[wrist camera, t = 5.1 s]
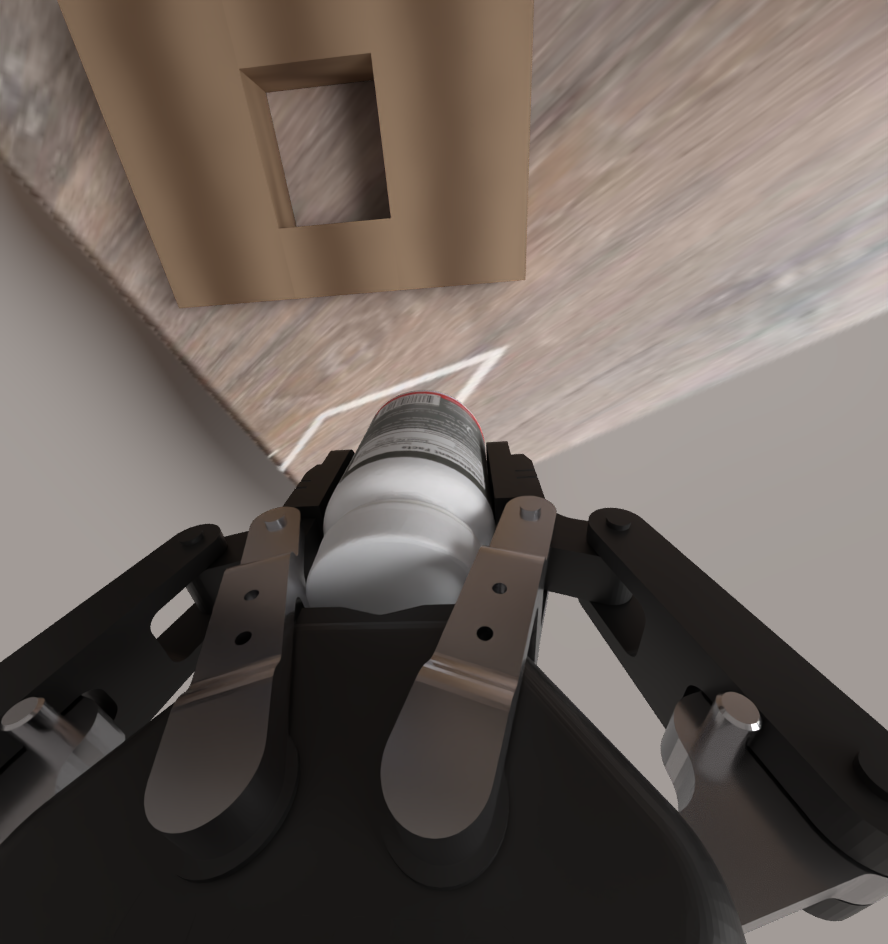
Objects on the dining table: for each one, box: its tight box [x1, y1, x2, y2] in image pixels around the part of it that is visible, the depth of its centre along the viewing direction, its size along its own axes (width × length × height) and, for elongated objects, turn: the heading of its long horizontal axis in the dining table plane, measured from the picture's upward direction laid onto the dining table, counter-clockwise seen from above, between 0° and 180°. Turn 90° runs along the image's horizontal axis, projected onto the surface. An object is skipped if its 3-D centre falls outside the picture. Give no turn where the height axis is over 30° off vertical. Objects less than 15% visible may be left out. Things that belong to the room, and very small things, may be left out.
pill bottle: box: [306, 390, 496, 615], centre depth 12 cm, size 5×5×8 cm
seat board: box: [57, 0, 534, 308], centre depth 21 cm, size 22×14×3 cm, turn 94°
